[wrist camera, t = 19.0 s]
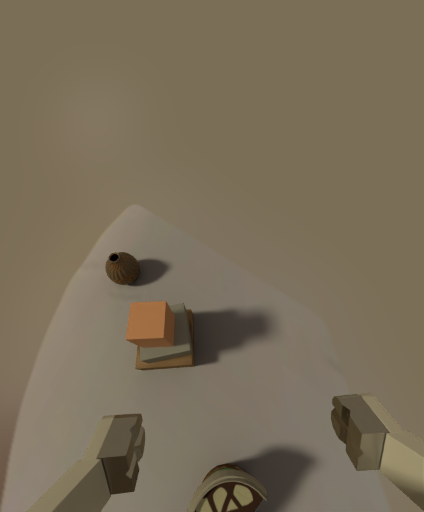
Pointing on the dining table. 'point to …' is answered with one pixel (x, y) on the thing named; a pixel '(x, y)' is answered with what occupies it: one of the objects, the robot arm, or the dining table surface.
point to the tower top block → (180, 340)
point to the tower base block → (174, 362)
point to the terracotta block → (151, 324)
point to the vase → (122, 268)
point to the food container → (227, 491)
